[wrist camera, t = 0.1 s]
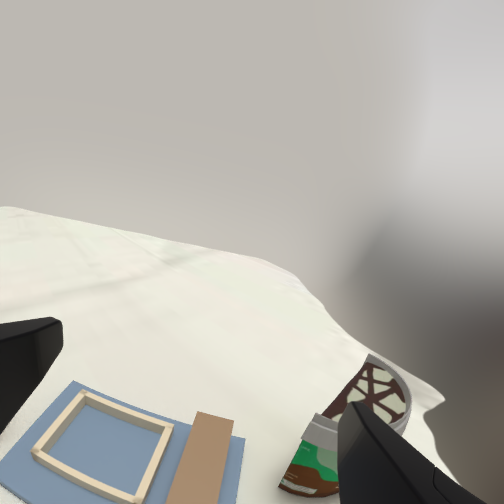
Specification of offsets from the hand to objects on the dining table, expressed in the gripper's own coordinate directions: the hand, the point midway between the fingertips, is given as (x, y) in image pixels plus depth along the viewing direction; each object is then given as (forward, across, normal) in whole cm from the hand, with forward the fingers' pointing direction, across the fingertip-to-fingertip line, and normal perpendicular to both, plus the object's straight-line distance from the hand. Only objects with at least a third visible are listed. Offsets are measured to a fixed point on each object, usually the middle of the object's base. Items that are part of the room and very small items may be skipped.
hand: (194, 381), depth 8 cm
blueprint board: (+6, +5, +16) cm, 18 cm away
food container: (+11, -12, +17) cm, 23 cm away
